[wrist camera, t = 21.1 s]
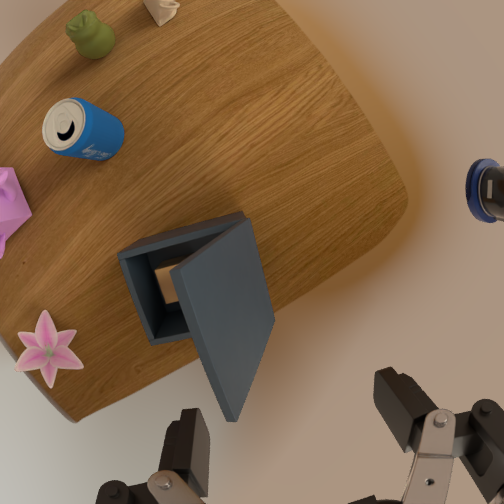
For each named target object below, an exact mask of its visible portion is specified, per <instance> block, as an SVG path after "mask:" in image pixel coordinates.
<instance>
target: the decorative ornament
mask: <svg viewBox="0 0 504 504" xmlns="http://www.w3.org/2000/svg"><path fill="white" fill-rule="evenodd" d="M143 2H144V4H145V6H146V8H147V9H148V11H149V12H150V14H151V15H152V17H153V18H154V20H155V21H156V23H157V24H158V26H159V27H160V26H162V25H163V24H165V23H166V22H167V21H169V20H170V19H171V18H173V17H174V15H175V14H176V10H177V8H178V7H179V6H180V4H179V3H177V2H175V0H144V1H143Z"/></svg>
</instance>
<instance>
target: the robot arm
mask: <svg viewBox="0 0 504 504" xmlns="http://www.w3.org/2000/svg"><path fill="white" fill-rule="evenodd" d="M477 196H478V201H479V204H480V207H481V209H482V210H483V212H484V213H485V214H486V215H488V216H491V217H493V218H494V220H499V221H504V166H486V167H485V168H484V169H483V170H482V171H481V173H480V175H479V178H478V183H477ZM373 396H374V403H375V406H376V408H377V409H378V411H379V412H380V414H381V415H382V417H383V419H384V421H385V422H386V424H387V425H388V427H389V429H390V430H391V432H392V433H393V435H394V437H395V438H396V440H397V442H398V443H399V445H400V447H401V448H402V450H403V452H404V453H407V452H409V451H411V450H413V452H414V453H415V455H414V459H413V462H412V466H411V469H410V473H409V476H408V479H407V482H406V485H405V488H404V491H403V493H402V496H401V499H400V501H398V500H387V499H386V500H376V498H375V496H374V495H372V496H369V497H367V498H363V499H360V500H357V501H354V502H351V503H348V504H445V501H446V497H447V492H448V488H449V483H450V478H451V473H452V467H453V461H454V458H456V457H459V458H460V460H461V461H462V463H463V464H464V466H465V467H466V469H467V471H468V472H469V474H470V475H471V477H472V479H473V480H474V482H475V484H476V485H477V487H478V488H479V490H480V492H481V493H482V495H483V497H484V498H485V500H486V502H487V504H504V411H503V409H502V408H501V407H500V406H499V405H498V404H497V403H496V402H494V401H492V400H490V399H482V400H479V401H477V402H476V403H475V404H474V405H473V407H472V410H471V411H468V412H463V413H459V414H453V413H452V412H451V411H449V410H446V409H439V408H438V407H437V406H436V405H435V404H434V403H433V401H432V400H431V399H430V398H429V397H428V396H427V395H426V393H425V392H424V391H422V389H421V387H420V386H419V385H417V383H416V382H415V381H414V379H413V378H412V377H410V376H408V375H406V374H404V373H402V374H399V375H398V374H397V372H396V371H395V370H394V369H393V368H392V367H387V368H384V369H381V370H378V371H376V372H375V378H374V394H373ZM209 455H210V436H209V431H208V429H207V426H206V423H205V421H204V418H203V416H202V413H201V411H200V409H199V408H192V409H183V410H182V412H181V417H180V420H179V421H172V423H171V424H170V426H169V427H168V428H167V431H166V435H165V440H164V446H163V449H162V454H161V459H160V464H159V469H158V472H156V473H154V474H153V475H151V477H150V478H149V479H148V482H145V483H142V484H138V485H133V486H127V485H126V484H125V483H124V482H121V481H118V480H112V481H108V482H106V483H104V484H103V485H102V486H101V487H100V489H99V492H98V495H97V499H96V504H206V503H204V502H203V501H202V500H201V499H200V497H208V477H209V476H208V475H209Z"/></svg>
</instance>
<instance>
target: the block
mask: <svg viewBox="0 0 504 504" xmlns="http://www.w3.org/2000/svg"><path fill="white" fill-rule="evenodd" d="M192 254H193V253H191V254H187V255H183V256H180V257H176V258H172V259H169V260H165V261H162V262H161V263H160V265H159V266H158V267H157V268H156V269H155V273H156V276H157V279H158V282H159V285H160V288H161V291H162V294H163V297H164V299H165V302H166V304H168V303H172V302H177V301H179V300H178V297H177V294H176V291H175V288H174V285H173V282H172V279H171V276H170V273H169V271H170V270H171V269H172V268H174V267H175V266H177V265H178V264H179V263H181V262H182V261H184V260H185V259H186V258H188V257H189V256H191V255H192Z"/></svg>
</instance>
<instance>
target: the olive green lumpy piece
mask: <svg viewBox="0 0 504 504" xmlns="http://www.w3.org/2000/svg"><path fill="white" fill-rule="evenodd" d="M66 34H67V35H68V36H69V37H70V39H71V40H72V42H74V43H75V46H76V49H77V51H78V52H79V53H80V54H81V55H82V56H84V57H86V58H89V59H99V58H101V57H104V56H105V55H107V54H108V53H109V52H110V51H111V50H112V48H113V47H114V44H115V34H114V31H113V30H112V28H111V27H110V26H109V25H107V24H105V23H102V22H101V21H100V20H99V19H98V18H97V16H96V14H95V12H93V11H88V10H84V11H82V12H81V13H80V14H78V15H77V16H76V17H74V18H73V19H72V20H70V21H69V22H68V23H67V24H66Z"/></svg>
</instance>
